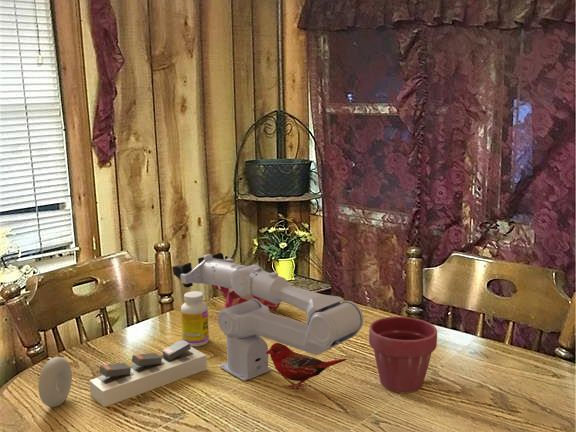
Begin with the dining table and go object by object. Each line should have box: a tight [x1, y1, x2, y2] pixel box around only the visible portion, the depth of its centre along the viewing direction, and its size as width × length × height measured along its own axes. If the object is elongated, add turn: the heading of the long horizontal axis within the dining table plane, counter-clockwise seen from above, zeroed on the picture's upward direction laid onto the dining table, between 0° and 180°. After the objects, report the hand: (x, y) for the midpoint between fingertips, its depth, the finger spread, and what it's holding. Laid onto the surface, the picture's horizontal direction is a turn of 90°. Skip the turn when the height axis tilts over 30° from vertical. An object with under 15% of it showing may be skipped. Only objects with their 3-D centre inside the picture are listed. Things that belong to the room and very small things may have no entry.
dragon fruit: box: [211, 284, 281, 313], centre depth 175 cm, size 14×12×20 cm
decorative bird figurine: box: [265, 342, 347, 389], centre depth 133 cm, size 3×18×10 cm, turn 98°
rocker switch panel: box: [88, 347, 208, 408], centre depth 136 cm, size 6×25×4 cm, turn 131°
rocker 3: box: [161, 339, 191, 360], centre depth 141 cm, size 3×6×2 cm, turn 131°
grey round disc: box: [37, 356, 73, 408], centre depth 127 cm, size 10×4×10 cm, turn 173°
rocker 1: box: [98, 362, 131, 377], centre depth 132 cm, size 3×6×2 cm, turn 131°
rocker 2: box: [131, 352, 162, 366], centre depth 137 cm, size 3×6×2 cm, turn 131°
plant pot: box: [368, 316, 438, 394], centre depth 133 cm, size 14×14×13 cm
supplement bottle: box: [180, 290, 210, 348], centre depth 156 cm, size 7×7×13 cm
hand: (187, 266), depth 152 cm, fingers open, 7 cm apart
